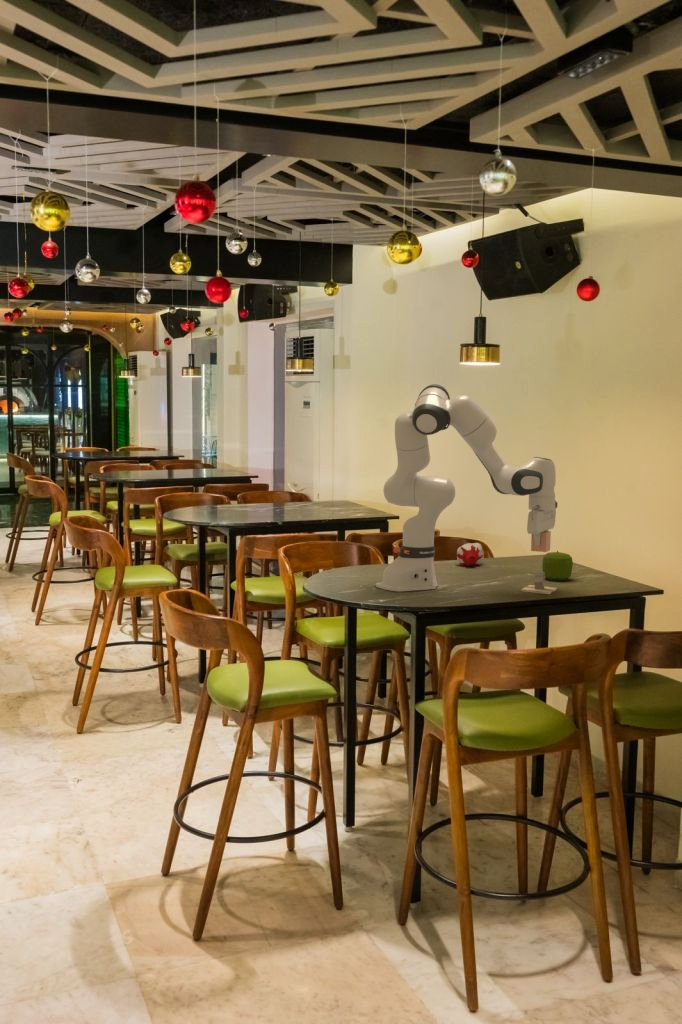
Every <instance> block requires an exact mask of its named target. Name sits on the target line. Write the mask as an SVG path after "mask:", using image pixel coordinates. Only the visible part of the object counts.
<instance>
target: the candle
mask: <svg viewBox="0 0 682 1024" xmlns="http://www.w3.org/2000/svg"><path fill="white" fill-rule="evenodd" d="M484 555H485V553H484V550H483V546H482V544H481V543H480V542H473V543H471V542H468V543H464V544H463V545H461V546H459V547H458V548H457V550H456V554H455V556H456V559H457V561H458V562H459V564H460V565H461V566H470V567H474V566H476V565H477V566H480V565H481V564H482V562H483V560H484V558H485V556H484Z"/></svg>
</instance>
